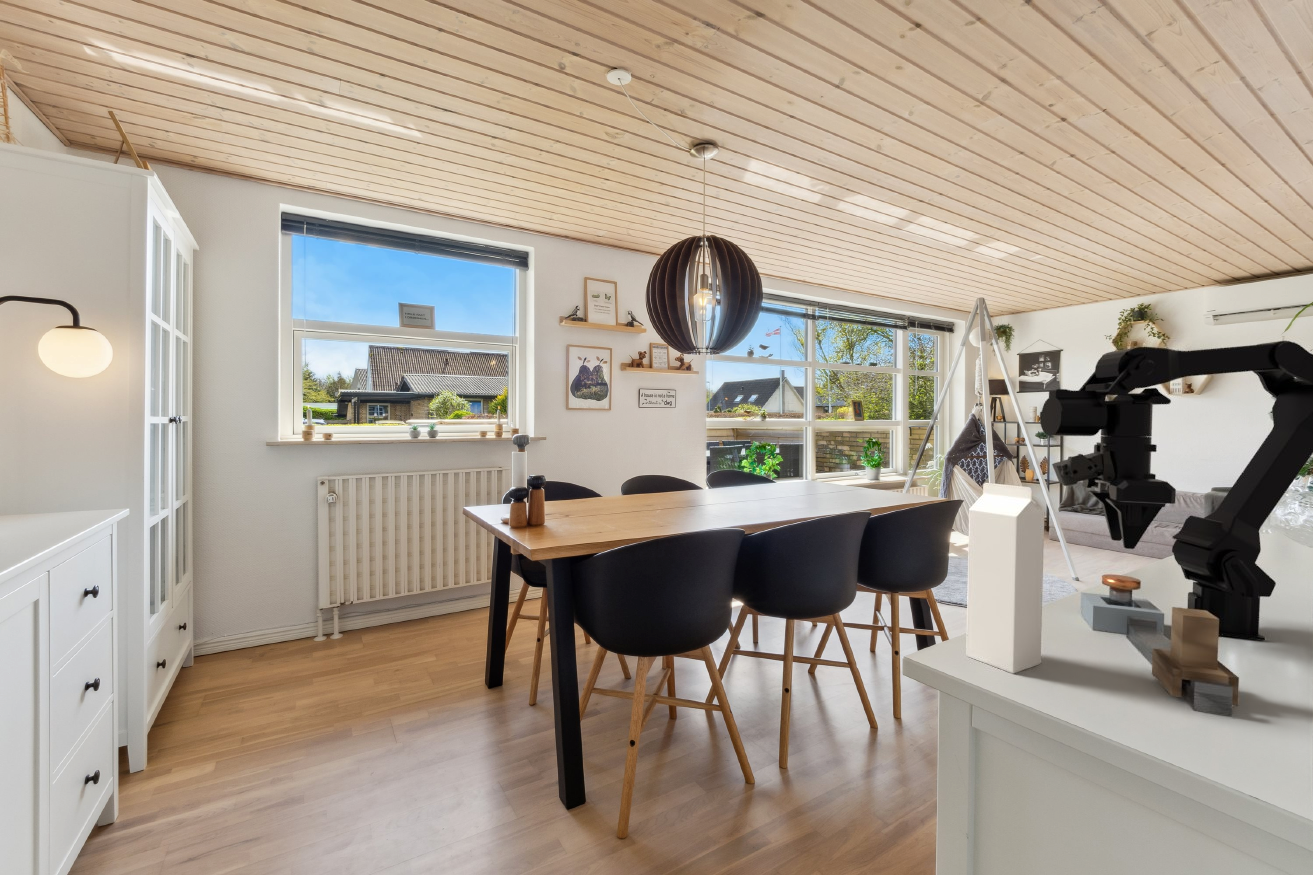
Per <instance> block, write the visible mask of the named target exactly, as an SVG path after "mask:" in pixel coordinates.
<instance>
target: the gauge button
mask: <svg viewBox="0 0 1313 875" xmlns="http://www.w3.org/2000/svg"><path fill="white" fill-rule="evenodd" d="M1101 584H1103V585H1104V586H1107V587H1109V590H1108V591H1109V593H1108V595H1109V605H1116V606H1125V607H1132V598H1133V591H1135V590H1140V589H1141V586H1142V582H1141V580H1140V579H1139V578H1136V577H1133V576H1127V575H1123V574H1122V575H1121V574H1112V573H1111V574H1102V575H1101Z"/></svg>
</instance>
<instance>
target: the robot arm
mask: <svg viewBox="0 0 1313 875" xmlns="http://www.w3.org/2000/svg"><path fill="white" fill-rule="evenodd" d="M1243 372H1252V373H1254V374H1255V375H1256V376H1258V379H1259V381H1260V383H1261V386H1262V388H1263V389H1264V390H1265V391H1266V392H1267V393H1268V394H1270V395H1271V397H1273V398H1274V399H1275V402H1274V403H1273V405H1272V408H1271V411H1272V412H1271V413H1272V414H1271V415H1272V421H1273V427H1272V428H1271V430H1270V432H1269V433H1268V435H1267V436H1266V437H1265V439H1264V440H1263V442H1262V443H1261V445H1260V446H1259V447H1258V449H1257V451H1256V452H1255V453H1254V455H1253V457H1252V458H1251V459H1250V461H1249V462H1248V464H1247V465H1246V467H1245V468H1244V469H1243V471H1242V472H1241V473H1240V475H1239V476H1238V478H1237V479H1236V481H1235V482H1234V484H1233V486H1231V488H1230V489H1229V491H1228V493H1226V495H1225V496H1224V498H1223V500H1222V501H1221V502H1220V503H1219V504H1218V507H1217V508H1216V509H1215V511H1213V512H1212V513H1211V514H1208V515H1207V516H1204V517H1201V516H1195V515H1189V516H1188V517H1187V518H1186V519H1185V521H1184V522H1183V525H1182V527H1181V529H1180V530H1179V531H1178V532H1177V533H1176V534H1174V535H1173V536H1172V537H1171V538H1172V539H1173V540H1175V541H1174V544H1173V545H1172V549H1171V552H1172V554H1173V558H1174V560H1175V562H1176V563H1177V565H1179V566H1180V568H1181V571H1182V573H1183V577H1184V579H1186V580H1188V581H1193V582H1192V591H1189V592H1188V593H1187V607H1186V608H1187V609H1196V610H1205V611H1208V612H1209V613H1211V614H1212V615H1214V616H1215V617H1217V618H1218V619H1219V635H1218V636H1223V637H1232V638H1233V637H1234V638H1238V639H1246V640H1247V639H1249V640H1256V641H1257V640H1258V641H1266V636H1265V635H1263V634H1261V633H1260V632H1259V631H1260V628H1259V627H1260V611H1261V610H1260V608H1261V607H1260V606H1261V604H1260V603H1261V597H1263V598H1269V597H1271V596H1272V594H1273V592H1274V590H1275V587H1276V585H1277V584H1276V581H1275V580H1274V579H1273V577H1272V578H1271V576H1270V575H1268V574H1267V573H1266V572H1265V571H1264V570H1263V569H1262V568H1261V567H1260V566H1259V565H1258V564H1257V563H1256V562H1257V560H1258V559H1259V558H1258V557H1259V556H1260V553H1261V551H1262V549H1261V538H1260V537H1261V536H1260V530H1261V528H1262V526H1263V524H1264V523H1265V522H1266V520H1267V519H1268V518H1269V516H1270V514H1272V512H1273V511H1274V509H1275V508H1276V506H1277V505H1278V503H1280V501H1281V499H1282V498H1283V496H1284V495H1285V493H1286V492H1287V491H1288V490H1289V488H1290V487H1291V485H1292V483H1293V482H1294V481H1295V479H1296V478H1297V477H1298V475H1299V474H1300V472H1301V471H1302V470H1303V468H1304V466H1305V465H1306V464H1307V463H1308V461H1309V460H1310V458H1311V457H1312V455H1313V353H1311V352H1310V351H1308V350H1306V349H1305V348H1304V347H1303V346H1302V345H1300V344H1299V343H1296V342H1294V341H1290V340H1280V341H1279V340H1278V341H1270V342H1265V343H1258V344H1254V345H1250V344H1249V345H1242V346H1241V345H1240V346H1239V345H1238V346H1228V347H1219V348H1217V347H1216V348H1207V349H1206V348H1205V349H1195V350H1177V349H1173V348H1165V347H1152V346H1137V347H1131V348H1126V349H1125V348H1124V349H1120V350H1113V351H1108V352H1106V353H1104V354H1102V356H1101V357H1100V358H1099V359H1098V360H1097V363H1096V365H1095V369H1094V371H1093V373H1092V374H1091V375H1090V376H1089V377H1088V379H1086V381H1085V382H1084V383H1083V385H1082V386H1081V387H1080V388H1079V389H1078V390H1070V389H1065V388H1064V389H1063V388H1062V389H1061V388H1058V389H1050V390H1049V391H1048V398H1047V399H1046V400H1045V402H1044V403H1043V406H1042V408H1041V409H1042V410H1041V411H1040V412H1039V422H1040V427H1041V430H1042V432H1043V433H1044V434H1045V435H1047V436H1049V437H1094V436H1096V435H1097V434H1098V433H1099V432H1100V442H1096V444H1094V445H1093V452H1090V453H1087V454H1082V453H1078V454H1077V455H1074V456H1068V458H1067V459H1064V460H1060V461H1057V462H1054V463H1052V464H1051V466H1052V468H1053V470H1054V473H1055V475H1056V477H1057V480H1058V482H1059V484H1060V485H1062V486H1065V487H1068V486H1069V487H1070V486H1073V485H1076V484H1078V483H1079V482H1082V487H1084V488H1086V489H1092V487H1093V488H1094V490H1087V492H1088V493H1089V494H1090V495H1091V496H1092V497H1094V498H1095V500H1098V502H1100V504H1101V508H1102V511H1103V515H1104V517H1105V522H1106V525H1107V528H1108V532H1109V537H1110V540H1112V541H1119V542H1121V541H1122V545H1123V548H1125V549H1126V550H1127V549H1128V550H1134V549H1135V548H1136V547H1137V545H1139V542H1140V541H1141V539H1142V537H1143V536H1144V534H1145V533H1146V531H1147V530H1148V528H1149V527H1150V525H1151V523H1152V522H1153V521H1154V519H1156V517H1157V515H1158V514H1159V513H1160V511H1161V510H1162V508H1165V507H1166V504H1169V505H1171V504H1172V505H1173V504H1176V493H1177V492H1176V491H1177V490H1176V489H1177V488H1175V487H1174V486H1173V485H1172V484H1170V483H1169V482H1168V481H1166V480H1162V479H1157V478H1156V477H1157V476H1156V473H1153V472H1152V473H1151V470H1152V469H1151V465H1152V453H1156V452H1157V447H1158V446H1157V444H1155V443H1153V444H1152V437H1153V436H1152V435H1153V434H1152V433H1153V431H1152V430H1153V411H1154V410H1153V407H1154V406H1155V405H1170V404H1171V402H1172V400H1171V398H1169V397H1168V396H1166V395H1164V394H1162V392H1160V390H1158V388H1156V387H1153V386H1158V385H1162V384H1166V383H1170V382H1173V381H1175V380H1176V381H1177V380H1179V379H1182V378H1183V379H1184V378H1186V377H1195V376H1196V377H1197V376H1207V375H1208V376H1209V375H1219V374H1221V375H1222V374H1233V373H1243ZM1149 387H1150V388H1149ZM1136 389H1143V390H1142V391H1141V392H1139V393H1133V392H1132V391H1134V390H1136ZM1131 392H1132V393H1131ZM1107 396H1108V397H1109V396H1114V397H1113V399H1112V400H1106V397H1107Z"/></svg>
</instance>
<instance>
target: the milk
mask: <svg viewBox="0 0 1313 875" xmlns="http://www.w3.org/2000/svg"><path fill="white" fill-rule="evenodd" d="M982 487H983V488H982V495H981V496H980V497H979V498H978V499H977V500H976V501H975V502H974V503H973V504H972V505H971V506H970V507H969V508H968V543H967V544H968V547H967V549H968V550H967V557H968V558H967V588H966V590H967V599H966V601H967V602H966V640H965V641H966V642H965V643H966V646H965V647H966V648H965V651H966V652H965V656H966V657H968V658H971V659H974V660H975V661H978V662H981V663H984V664H986V665H990V666H991V667H994V668H997V669H1000V670H1003V671H1004V672H1006V673H1007V672H1008V673H1010V674H1012V675H1013V674H1016V673H1019V672H1022V671H1024V670H1027V669H1030V668H1032V667H1035V666H1038V665H1040V664H1041V663H1042V661H1041V660H1042V626H1043V625H1042V624H1043V622H1042V621H1043V589H1044V588H1043V584H1044V583H1043V581H1044V548H1045V546H1044V545H1045V542H1044V541H1045V511H1044V510H1043V509H1042V508H1041V507H1040V506H1039V505H1038V504H1037V503H1036V502H1034V500H1033V489H1032V488H1031V487H1029V486H1020V485H1012V484H1002V483H1001V484H1000V483H993V482H992V483H991V482H984V483H983V486H982ZM967 635H968V636H967Z"/></svg>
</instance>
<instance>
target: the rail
mask: <svg viewBox="0 0 1313 875" xmlns="http://www.w3.org/2000/svg"><path fill="white" fill-rule="evenodd" d="M1125 636H1126V639H1127V640H1128V641H1129V642H1130V643H1131V644H1132V645H1133V646H1134V648H1136V649H1137V651H1138V652H1139V653H1140V654H1141V655H1142V656H1143V657H1144V658H1145V659H1146V661H1148V663H1149V664H1150V665H1151V666H1152V651H1153V648H1154V649H1162V650H1170V651H1171V639H1169V638H1168V637H1166V635H1165V634H1164V635H1163V634H1162V633H1161V632H1160V631H1159V630H1158V629H1157V621H1156V620H1155V619H1149V618H1141V617H1132V616H1127V632H1126V634H1125ZM1180 698H1182V699H1183V701H1184V702H1186V703H1187V705H1188V706H1189V707H1190V708H1191V709H1192V710H1193V711H1196V712H1203V713H1207V714H1213V715H1214V714H1215V715H1221V716H1225V717H1233V705H1232V699H1233V687H1232V686H1231V685H1230V684H1228V683H1222V682H1215V681H1208V680H1201V679H1195V678H1191V680H1186V679H1182V688H1181V697H1180Z"/></svg>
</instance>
